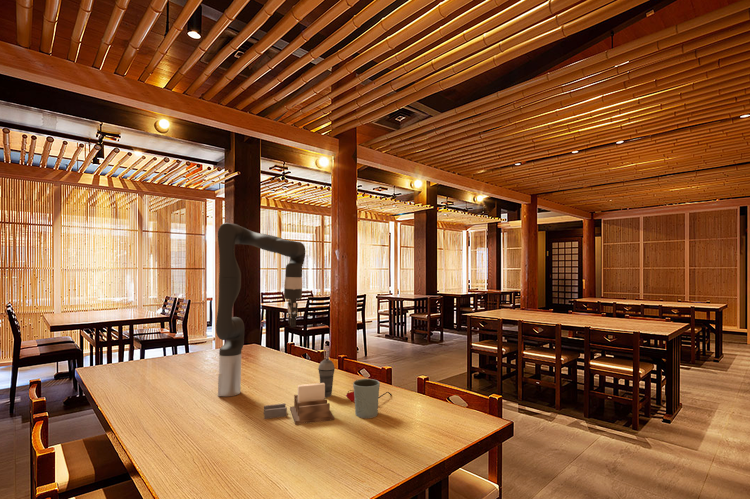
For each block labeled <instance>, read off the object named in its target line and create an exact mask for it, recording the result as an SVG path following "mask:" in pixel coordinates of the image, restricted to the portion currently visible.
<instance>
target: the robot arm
mask: <svg viewBox="0 0 750 499" xmlns="http://www.w3.org/2000/svg"><path fill="white" fill-rule="evenodd" d="M217 245H218V254H219V255H218V258H219V261H218V263H219V264H218V265H219V268H218V269H219V271H218V272H219V273H218V304H217V305H218V306H217V315H216V321H215V332H216V335H217V337H218V339H220V340H221V341H225V343H224V344H223V345H222V346H221V347H220V348H219V350H218V351H219V353H218V358H219V359H218V377H217V378H218V382H217V384H218V385H217V389H218V390H217V397H233V396H237V395H239V394H241V389H242V387H241V383H242V382H241V381H242V350H243V347H244V343H245V323H244V321H243V319H242V318H241V317H237V316H233V308H234V304H235V302H236V300H237V298H238V296H239V293H240V291H241V287H242V272H241V269H240V266H239V264H238V261H237V258H236V255H235V252H236V251H235V245H246V246H247V245H248V246H251V247H256V248H259V249H260V250H264V251H267V252H270V253H273V254H279V255H282V256H285V257H288V258H289V262H288V263H287V264H286V265H285V278H284V283H283V284H284V286H283V287H284V288H283V299H285V300H287V315H288V319H287V323H288V325H289V327H290V328H296V326H297V318H298V308H299V306H298V305H299V303H298V302H297V300H301V299H302V298H303V297H302V296H303V265H304V264H305V257H306V246H305V245H304V243H302V242H301V241H295V240H290V239H284V238H282V237H279V236H275V235H272V234H271V235H270V234H267V233H259V232H256V231H252V230H250V229H247V228H246V227H244V226H240V225H239V224H237V223H231V222H224V223H222V224H220V226H219V228H218V230H217Z"/></svg>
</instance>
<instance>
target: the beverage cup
mask: <svg viewBox="0 0 750 499" xmlns="http://www.w3.org/2000/svg"><path fill="white" fill-rule="evenodd" d="M323 356H324V359H323V360H321V361H320V363H319V365H318V368H317V370H318V376H319V383H324V384H325V398H330V397H332V394H333V385H334V384H333V383H334V376H335V375H334V374H335V369H336V368H335V365H334V364H335V363H334V362H333V361H332V359H329V358H327V357H326V349H325V348H324V349H323Z"/></svg>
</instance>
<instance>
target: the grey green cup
mask: <svg viewBox="0 0 750 499" xmlns="http://www.w3.org/2000/svg"><path fill="white" fill-rule="evenodd" d="M380 383H381V382H380V381H379V380H377V379H373V378H360V379H357V380H354V381H353V383H352V385H353V386H352V387H353V390H354V396H355V397H354V398H355V401H354V411H355V416H356V417H358V418H361V419H372V418H376V417H377V416H378V413H379V399H380V398H379V397H380Z"/></svg>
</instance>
